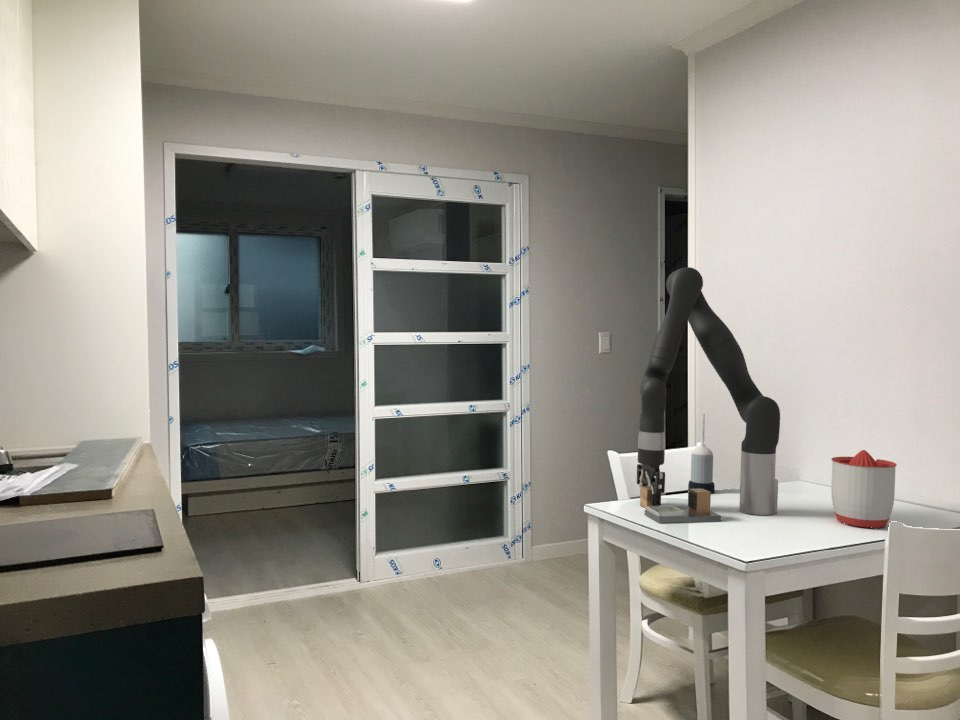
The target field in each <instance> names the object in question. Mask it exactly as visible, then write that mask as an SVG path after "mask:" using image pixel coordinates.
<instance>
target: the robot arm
mask: <svg viewBox="0 0 960 720" xmlns="http://www.w3.org/2000/svg"><path fill="white" fill-rule="evenodd" d="M703 279H704V278H703V276H702V273H700V271H698V270H697V269H695V268H694V267H690V266H689V267H688V266H687V267H685V266H684V267H681V268H677V269H676V270H674V271H672V272H671V273H670V274H669V275H668V277H667V279H666V283H665V284H666V285H665V286H666V290H667V292H668V295H669V301H668V307H667V308H666V309H667V310H666V313H665V315H664V318H663V321H662V322H661V323H662V324H661V325H660V327H659V330H658V332H657V334H656V337H655V340H654V342H653V345H652V349H651V352H650V356H649V360H648V364H647V367H646V369H645V371H644V374H643V376H642V380H641V383H640V387H639V393H640V395H641V412H640V415H639V431H638V432H639V433H638V439H637V463H638V464H637V465H636V485H638V487H639V488H640V492H641V486H649V487H651V491H652V506H661V505H660V494H661V495H662V494H665V492H666V491H665V489H666V488H665V487H666V472H665V471H661V469H660V466H662V465H665V458H666V457H665V453H666V451H665V450H666V448H665V447H666V437H665V436H666V435H665V423H666V421H665V411H666V405H667V391H668V390H667V382H668V379H669V375H670V372H671V371H672V370H673V367H674V366H675V361H676V359H677V355H678V351H679V349H680V345H681V342H682V339H683V335H684V331H685V328H686V326H687V322H688V323H689V326H690V327H691V330H692V332H693V333H694V335H695V338H696V340H697V341H698V344H699V345H700V347H701V350H702V351H703V352H704V354H705V356H706V357H707V360H708V361H709V362H710V364H711V366H712V367H713V369H714V370H715V372H716V374H717V375H718V377H719V378H720V380H721V381H722V383H723V384H724V386H725V387H726V389H727V391H728V392H729V394H730V396H731V399H732V401H733V403H734V406H735V407H736V410H737V412H738V414H739V416H740V418H741V420H742V421H743V422H744V423H745V435H744V439H743V440H742V441H741V445H740V447H741V449H740V452H741V453H740V478H739V479H740V481H739V482H740V483H739V511H740V512H741V513H745V514H749V515H757V516H771V515H774V514H778V497H779V496H778V495H779V480H778V479H776V462H777V461H776V458H777V456H776V455H777V447H778V445H779V440H780V429H781V428H780V426H781V411H780V407H779V404H778V403H777V402H776V401H775V400H774V399H772V397H771V398H770V397H768V396H764V395H763V394H762V392H761V391H760V389H759V388H758V387H757V385H756V384H755V382H754V380H753V379H752V378H751V375H750V372H749V370H748V366H747V362H746V359H745V355H744V353H743V350H742V348H741V346H740V344H739V343H738V341H737V339H736V338H735V336H734V334H733V332H732V331H731V330H730V329H729V327H728V326H727V324H726V323H725V322H724V321H723V320H722V319H721V318H720V317H719V316H718V314H717V313H715V311H714V310H713V309H712V308H711V306H710V305H709V303H708V302H707V300H706V297H705V296H704V294H703V291H702V289H703V286H704V280H703ZM654 487H655V489H654ZM640 492H639V493H640Z"/></svg>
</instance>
